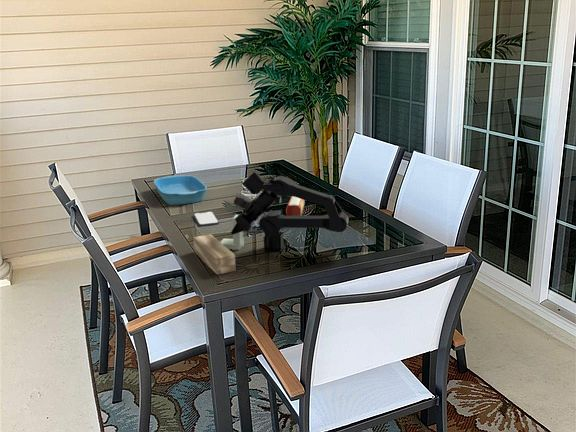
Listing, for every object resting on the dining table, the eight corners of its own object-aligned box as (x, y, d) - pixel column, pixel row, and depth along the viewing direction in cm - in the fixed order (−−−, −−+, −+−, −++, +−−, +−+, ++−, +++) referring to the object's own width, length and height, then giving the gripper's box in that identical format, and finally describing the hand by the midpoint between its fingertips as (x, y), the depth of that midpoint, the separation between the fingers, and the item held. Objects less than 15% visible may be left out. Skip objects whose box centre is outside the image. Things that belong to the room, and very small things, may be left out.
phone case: (220, 226, 244) (212, 214, 258) (219, 222, 243) (212, 211, 258) (199, 228, 241) (193, 216, 256) (198, 224, 241) (192, 213, 255)
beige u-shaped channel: (211, 248, 217) (210, 234, 215) (235, 270, 196) (234, 254, 194) (194, 251, 214) (193, 237, 212) (217, 274, 193) (216, 258, 192)
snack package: (291, 205, 269) (291, 191, 267) (305, 205, 268) (305, 191, 266) (285, 219, 249) (285, 204, 247) (301, 219, 248) (301, 204, 246)
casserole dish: (212, 203, 274) (211, 189, 272) (165, 210, 266) (164, 195, 264) (193, 186, 307) (192, 172, 304) (151, 191, 298) (149, 177, 296)
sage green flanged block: (244, 244, 220) (242, 214, 217) (239, 249, 215) (238, 219, 211) (224, 243, 222) (222, 213, 218) (219, 248, 216) (217, 218, 213)
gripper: (252, 181, 219) (226, 208, 224) (239, 194, 201) (211, 223, 207) (273, 201, 220) (246, 228, 225) (262, 216, 202) (233, 244, 208)
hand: (234, 230), depth 216 cm, fingers open, 7 cm apart
